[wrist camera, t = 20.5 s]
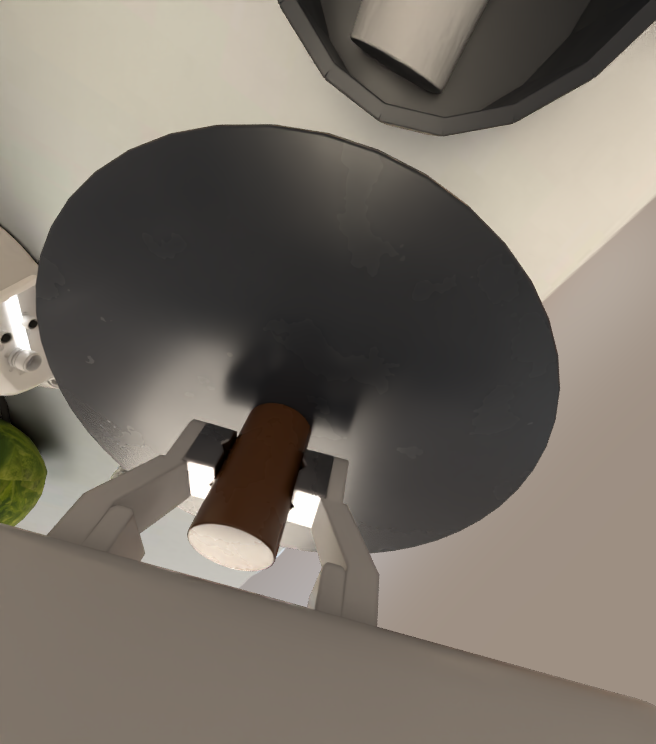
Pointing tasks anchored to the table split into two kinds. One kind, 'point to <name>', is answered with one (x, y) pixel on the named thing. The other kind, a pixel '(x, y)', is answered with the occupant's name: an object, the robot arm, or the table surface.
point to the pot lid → (298, 333)
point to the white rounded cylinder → (417, 36)
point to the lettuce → (18, 474)
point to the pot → (476, 60)
